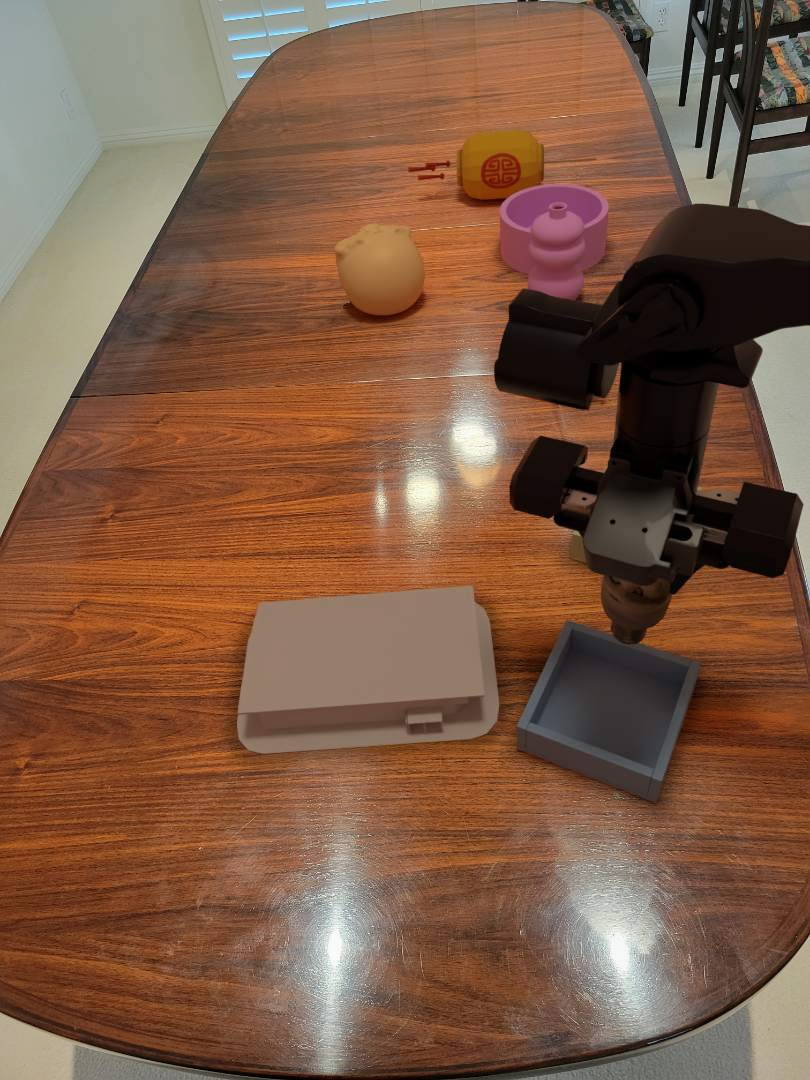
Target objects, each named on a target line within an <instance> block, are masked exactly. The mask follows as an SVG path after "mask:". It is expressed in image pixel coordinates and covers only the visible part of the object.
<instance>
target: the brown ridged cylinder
mask: <svg viewBox="0 0 810 1080" xmlns="http://www.w3.org/2000/svg"><path fill="white" fill-rule="evenodd" d="M601 580H602V581H601V590H600V600H601V605H602V609H603V612H604V613H605V615H606V616H607V617H608V619H609V620H610V621H611V625H610V632H611V634H613V636H614V637H615V638H616V639H617V640H618V641H620V642H621V643H624V644H628V645H630V644H637V643H640V642H641V643H642V641H643V640H644V639H645V637H646V635H647V630H648V629H650V628H653V627H655V626H656V625H658V624H659V623H660V622H661V621H662V620H663V619H664V618H665V616H666V614H667V611H668V609H669V606H670V604H671V600H672V597H673V595H672V594H670V593H669V591H670V585H671V581H668V580H664V579H660V578H659V579H658V580H657V581H656V582H655V583H654V584H652V585H649V586H641V585H637V584H634V583H632V582H630V581H627V580H623V579H620V578H616V577H613V576H609V575H602V579H601Z"/></svg>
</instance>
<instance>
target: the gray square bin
mask: <svg viewBox="0 0 810 1080" xmlns="http://www.w3.org/2000/svg"><path fill="white" fill-rule="evenodd" d="M701 666H702V663H701V662H700V661H696V660H693V659H691V658H687V657H684V656H681V655H678V654H675V653H672V652H669V651H666V650H664V649H663V650H662V649H660V648H656V647H653V646H651V645H647V644H644V643H642V642H641V643H640V642H639V643H637V644H630V645H628V644H624V643H621V642H620V641H618V640H617V639H616V638H615V637H614V636H613V633H610V632H607V631H604V630H600V629H597V628H594V627H591V626H588V625H585V624H583V623H579V622H575V621H572V620H569V619H566V620H565V623H564V624H563V626H562V627H561V631H560V633H559V635H558V637H557V639H556V641H555V643H554V646H553V648H552V650H551V652H550V654H549V657H548V658H547V661H546V663H545V665H544V667H543V669H542V672H541V673H540V675H539V677H538V679H537V681H536V684H535V686H534V688H533V690H532V692H531V694H530V696H529V699H528V701H527V703H526V706H525V707H524V709H523V712H522V714H521V716H520V718H519V720H518V722H517V724H516V749H517V750H519V751H522V752H523V753H526V754H529V755H532V756H534V757H537V758H540V759H541V760H544V761H547V762H550V763H553V764H555V765H558V766H560V767H563V768H565V769H568V770H571V771H573V772H575V773H578V774H581V775H583V776H586V777H588V778H591V779H594V780H595V781H599V782H601V783H604V784H606V785H609V786H612V787H614V788H615V789H616V788H617V789H618V790H622V791H623V792H627V793H629V794H632V795H634V796H637V797H639V798H642V799H644V800H647V801H650V802H652V803H655V804H657V803H658V801H659V798H660V795H661V791H662V788H663V785H664V782H665V780H666V776H667V773H668V771H669V767H670V765H671V761H672V758H673V756H674V751H675V749H676V746H677V744H678V743H677V742H678V739H679V737H680V734H681V730H682V728H683V724H684V721H685V718H686V715H687V712H688V709H689V706H690V703H691V700H692V697H693V694H694V691H695V687H696V685H697V681H698V676H699V673H700V670H701Z"/></svg>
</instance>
